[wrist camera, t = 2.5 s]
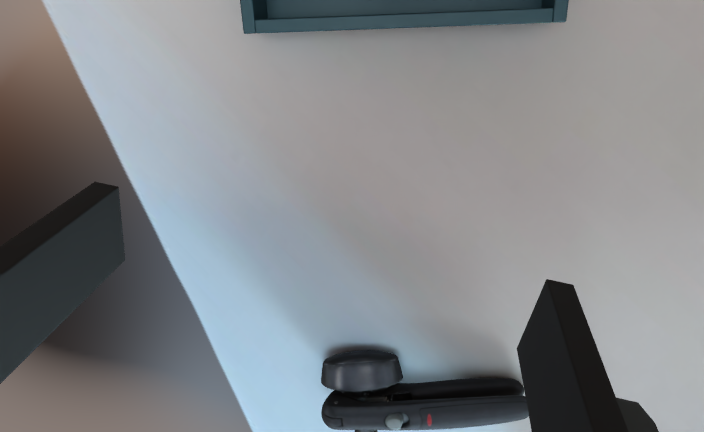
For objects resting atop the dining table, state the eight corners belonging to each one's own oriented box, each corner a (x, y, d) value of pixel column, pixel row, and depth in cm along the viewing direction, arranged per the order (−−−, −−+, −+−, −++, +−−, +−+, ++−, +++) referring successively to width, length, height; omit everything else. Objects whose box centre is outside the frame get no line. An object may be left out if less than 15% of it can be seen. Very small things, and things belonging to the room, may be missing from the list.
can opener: (326, 403, 47) (316, 451, 42) (323, 342, 45) (311, 385, 39) (521, 416, 45) (534, 469, 40) (530, 353, 42) (545, 401, 37)
